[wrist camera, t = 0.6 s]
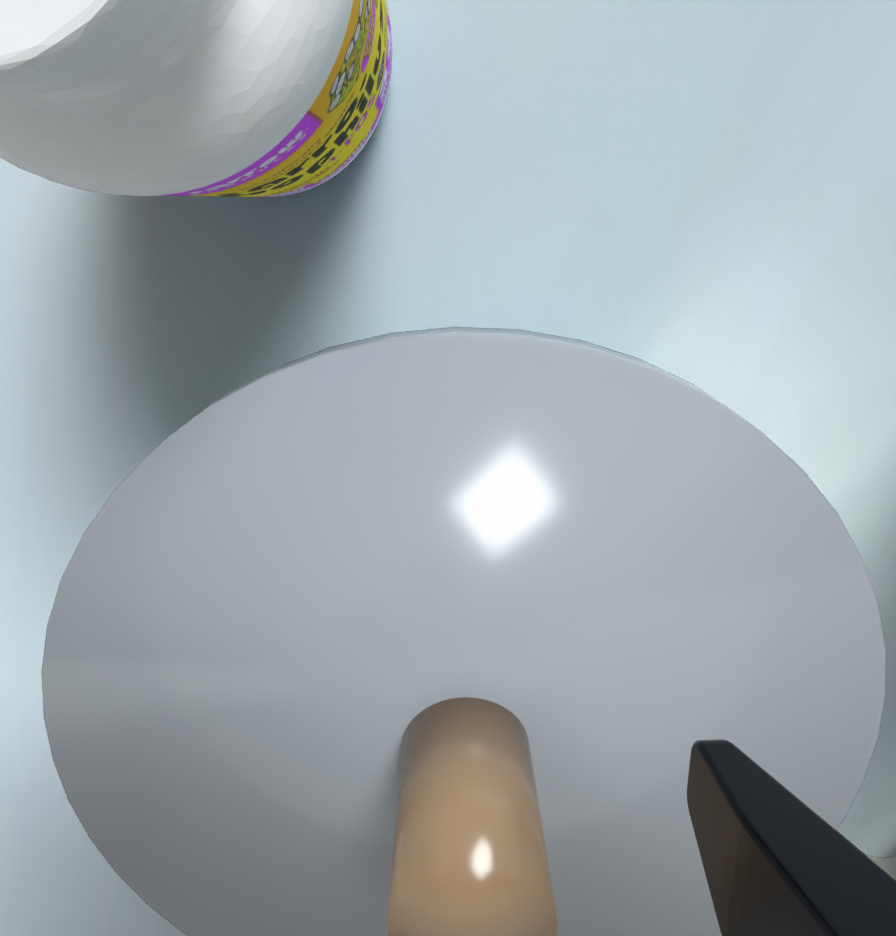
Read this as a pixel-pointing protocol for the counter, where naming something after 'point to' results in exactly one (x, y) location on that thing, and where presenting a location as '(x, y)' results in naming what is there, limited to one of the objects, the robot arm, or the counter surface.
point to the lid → (452, 645)
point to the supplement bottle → (191, 92)
